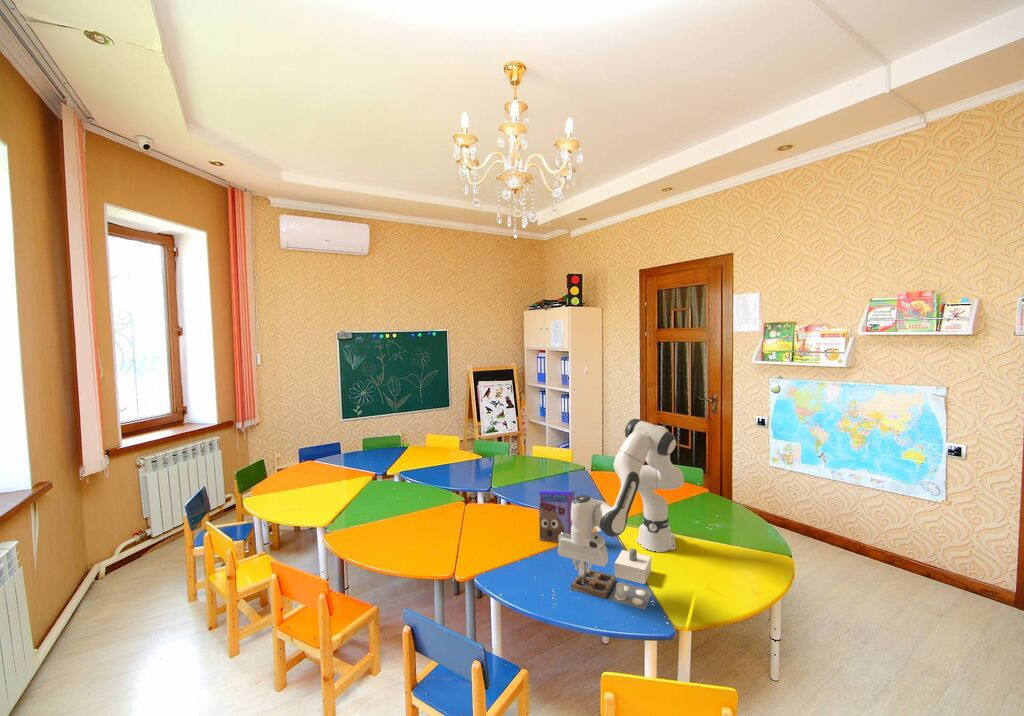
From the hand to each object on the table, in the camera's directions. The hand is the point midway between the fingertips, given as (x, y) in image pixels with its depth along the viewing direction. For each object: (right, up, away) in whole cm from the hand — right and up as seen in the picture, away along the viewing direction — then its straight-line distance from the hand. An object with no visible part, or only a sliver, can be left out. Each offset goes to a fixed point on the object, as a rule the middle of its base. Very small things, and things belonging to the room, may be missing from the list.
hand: (582, 570), depth 177 cm
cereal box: (-5, -6, +45) cm, 46 cm away
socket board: (+5, -8, +2) cm, 9 cm away
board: (+18, -8, -5) cm, 20 cm away
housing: (+23, -7, +10) cm, 26 cm away
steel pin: (0, -5, 0) cm, 5 cm away
